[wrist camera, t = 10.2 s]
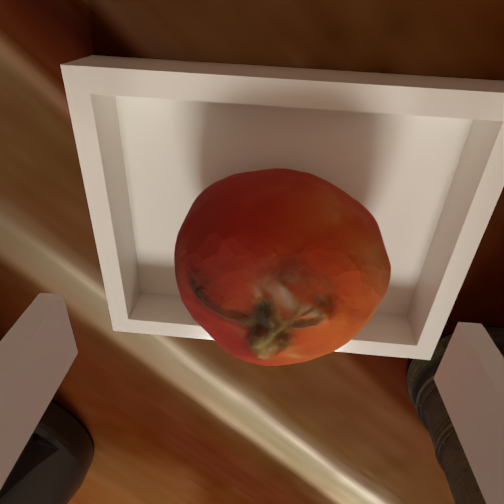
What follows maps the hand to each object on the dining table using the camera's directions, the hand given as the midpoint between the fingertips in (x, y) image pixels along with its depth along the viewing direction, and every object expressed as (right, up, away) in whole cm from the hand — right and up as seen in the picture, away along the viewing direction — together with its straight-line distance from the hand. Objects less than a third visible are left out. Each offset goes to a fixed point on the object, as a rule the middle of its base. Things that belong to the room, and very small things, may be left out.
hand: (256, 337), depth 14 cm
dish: (+1, +5, +8) cm, 9 cm away
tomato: (+1, +4, +8) cm, 9 cm away
